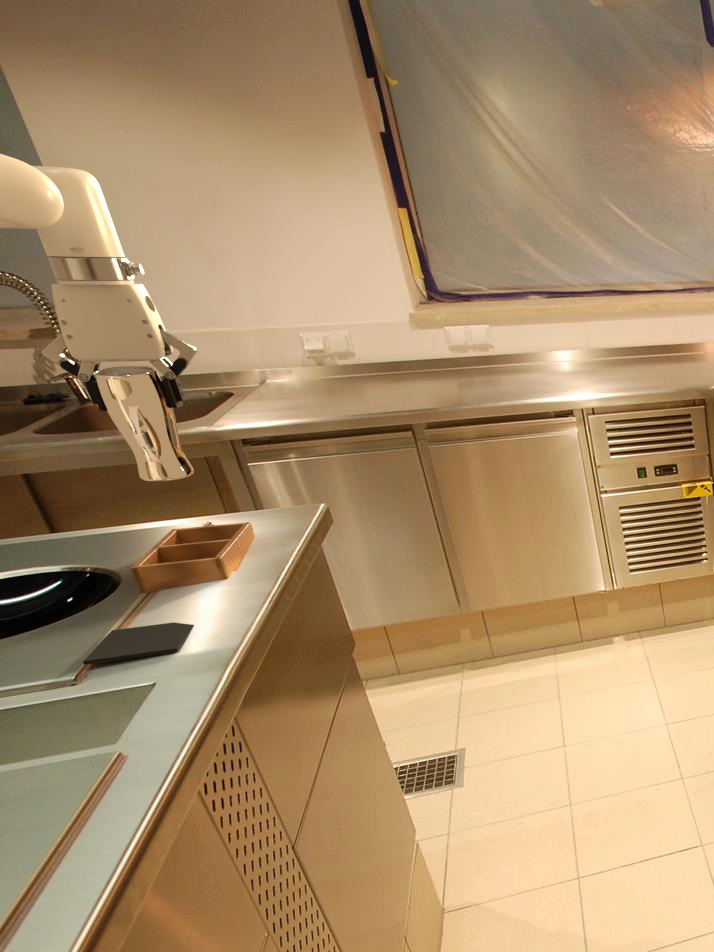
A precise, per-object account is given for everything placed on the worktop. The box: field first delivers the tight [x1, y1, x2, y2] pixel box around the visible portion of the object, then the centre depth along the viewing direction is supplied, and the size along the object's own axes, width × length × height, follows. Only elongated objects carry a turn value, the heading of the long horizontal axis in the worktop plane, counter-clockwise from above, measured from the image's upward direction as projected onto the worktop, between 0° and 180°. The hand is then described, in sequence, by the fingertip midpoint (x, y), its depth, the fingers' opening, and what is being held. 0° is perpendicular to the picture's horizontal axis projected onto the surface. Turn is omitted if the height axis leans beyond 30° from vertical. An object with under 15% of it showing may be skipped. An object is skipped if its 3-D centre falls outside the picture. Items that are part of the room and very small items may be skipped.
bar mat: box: [82, 621, 195, 666], centre depth 108 cm, size 9×10×1 cm
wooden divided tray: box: [130, 521, 256, 594], centre depth 129 cm, size 10×19×5 cm, turn 27°
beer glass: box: [93, 365, 195, 482], centre depth 120 cm, size 7×7×15 cm
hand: (142, 407), depth 119 cm, fingers closed on beer glass, 7 cm apart
